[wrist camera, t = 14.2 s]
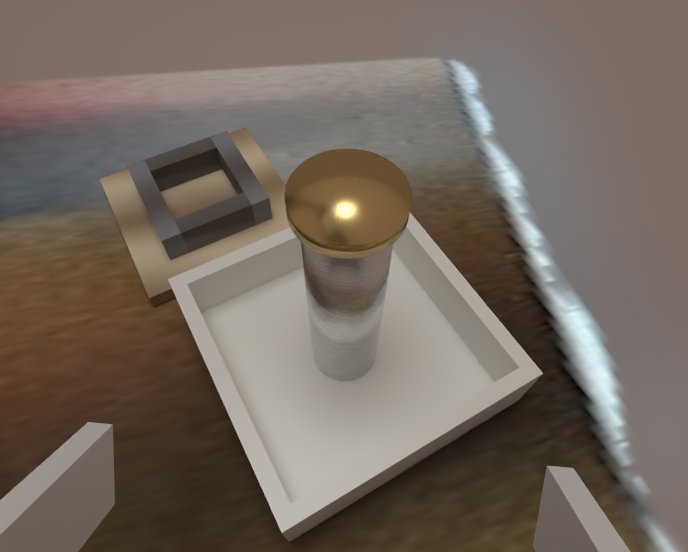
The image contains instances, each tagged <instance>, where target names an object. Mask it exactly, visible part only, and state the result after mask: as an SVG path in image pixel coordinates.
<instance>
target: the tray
mask: <svg viewBox="0 0 688 552" xmlns="http://www.w3.org/2000/svg"><path fill="white" fill-rule="evenodd" d="M168 281H169V283H170V285H171V287H172V290H173V292H174V294H175V296H176V299H177V301H178V303H179V305H180V307H181V310H182V312H183V314H184V316H185V319H186V321H187V323H188V325H189V328H190V330H191V332H192V334H193V336H194V339H195V341H196V343H197V345H198V348H199V350H200V352H201V354H202V356H203V359H204V361H205V363H206V365H207V368H208V370H209V372H210V374H211V377H212V379H213V381H214V383H215V385H216V388H217V390H218V392H219V394H220V397H221V399H222V401H223V403H224V405H225V408H226V410H227V412H228V414H229V417H230V419H231V421H232V423H233V426H234V428H235V430H236V432H237V434H238V437H239V439H240V441H241V443H242V446H243V448H244V450H245V452H246V454H247V457H248V459H249V461H250V463H251V466H252V468H253V470H254V472H255V474H256V477H257V479H258V481H259V483H260V486H261V488H262V490H263V492H264V495H265V497H266V499H267V501H268V503H269V506H270V508H271V510H272V512H273V515H274V517H275V519H276V521H277V523H278V526H279V528H280V530H281V532H282V534H283V535H284V536H285V538H286V539H287V540H288V542H291V541H293V540H294V539H296V538H297V537H299V536H301V535H302V534H304V533H306V532H307V531H309V530H310V529H312V528H314V527H315V526H317V525H318V524H320V523H322V522H323V521H325V520H327V519H328V518H330V517H331V516H333V515H335V514H336V513H338V512H339V511H341V510H343V509H344V508H346V507H348V506H349V505H351V504H352V503H354V502H356V501H357V500H359V499H360V498H362V497H364V496H365V495H367V494H368V493H370V492H372V491H373V490H375V489H377V488H378V487H380V486H381V485H383V484H385V483H386V482H388V481H389V480H391V479H393V478H394V477H396V476H398V475H399V474H401V473H402V472H404V471H406V470H407V469H409V468H410V467H412V466H414V465H415V464H417V463H419V462H420V461H422V460H423V459H425V458H427V457H428V456H430V455H431V454H433V453H435V452H436V451H438V450H440V449H441V448H443V447H444V446H446V445H448V444H449V443H451V442H452V441H454V440H456V439H457V438H459V437H461V436H462V435H464V434H465V433H467V432H469V431H470V430H472V429H473V428H475V427H477V426H478V425H480V424H481V423H483V422H485V421H486V420H488V419H490V418H491V417H493V416H494V415H496V414H498V413H499V412H501V411H502V410H504V409H506V408H507V407H509V406H511V405H512V404H514V403H515V402H517V401H518V400H519V399H520V398H521V397H522V396H523V395H524V394H525V393H526V391H527V390H528V389H529V388H530V387H531V386H532V385H533V384H534V383H535V382H536V380H537V379H538V378H539V377H540V376H541V375H542V374H543V373H542V372H541V371H540V369H539V368H538V367H537V366H536V364H535V363H534V362H533V361H532V360H531V358H530V357H529V356H528V355H527V354H526V352H525V351H524V350H523V349H522V347H521V346H520V345H519V344H518V343H517V341H516V340H515V339H514V338H513V337H512V335H511V334H510V333H509V332H508V331H507V329H506V328H505V327H504V326H503V324H502V323H501V322H500V321H499V320H498V318H497V317H496V316H495V315H494V314H493V312H492V311H491V310H490V309H489V308H488V306H487V305H486V304H485V303H484V301H483V300H482V299H481V298H480V297H479V295H478V294H477V293H476V292H475V291H474V289H473V288H472V287H471V286H470V285H469V283H468V282H467V281H466V280H465V278H464V277H463V276H462V275H461V274H460V272H459V271H458V270H457V269H456V268H455V266H454V265H453V264H452V263H451V262H450V260H449V259H448V258H447V257H446V255H445V254H444V253H443V252H442V251H441V249H440V248H439V247H438V246H437V245H436V243H435V242H434V241H433V240H432V239H431V237H430V236H429V235H428V234H427V232H426V231H425V230H424V229H423V228H422V226H421V225H420V224H419V223H418V222H417V220H416V219H415V218H414V217H413V215H412V214H411V213H409V219H408V223H407V226H406V228H405V230H404V232H403V234H402V235H401V236H400V237H399V239H398V240H397V241H396V242H395V243H393V249H392V255H391V262H390V268H389V275H388V281H387V288H386V294H385V301H384V307H383V314H382V320H381V327H380V333H379V340H378V346H377V353H376V358H375V362H374V364H373V366H372V367H371V369H370V370H369V371H368V372H367V373H366V374H365V375H363V376H362V377H360V378H358V379H355V380H352V381H337V380H334V379H331V378H329V377H327V376H325V375H324V374H323V373H322V372H321V371H320V370H319V369H318V368H317V366H316V364H315V362H314V359H313V354H312V345H311V335H310V326H309V316H308V306H307V297H306V287H305V278H304V268H303V258H302V249H301V241H300V240H299V239H298V238H297V237H296V236H295V234H294V233H293V231H292V230H291V228H287V229H285V230H283V231H280V232H278V233H276V234H273V235H271V236H269V237H266V238H264V239H261V240H259V241H257V242H254V243H252V244H250V245H247V246H245V247H243V248H240V249H238V250H235V251H233V252H231V253H228V254H226V255H224V256H221V257H219V258H217V259H214V260H212V261H209V262H207V263H205V264H202V265H200V266H198V267H195V268H193V269H191V270H188V271H186V272H184V273H181V274H179V275H176V276H174V277H172V278H169V279H168Z"/></svg>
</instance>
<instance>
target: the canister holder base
mask: <svg viewBox="0 0 688 552" xmlns="http://www.w3.org/2000/svg"><path fill="white" fill-rule="evenodd" d="M100 181H101V184H102V186H103V188H104V191H105V193H106V196H107V198H108V200H109V203H110V205H111V208H112V210H113V213H114V215H115V217H116V220H117V222H118V225H119V227H120V229H121V232H122V234H123V237H124V239H125V241H126V244H127V246H128V249H129V251H130V253H131V256H132V258H133V261H134V263H135V265H136V268H137V270H138V273H139V275H140V278H141V280H142V282H143V285H144V287H145V290H146V292H147V294H148V297H149V299H150V300H151V302H152V304H153V305H154V306H157V305H159V304H161V303H163V302H166V301H168V300H170V299H173V298H175V297H176V296H175V294H174V292H173V290H172V287H171V285H170V283H169V281H168V279H169V278H172V277H174V276H176V275H179V274H181V273H184V272H186V271H188V270H191V269H193V268H195V267H198V266H200V265H202V264H205V263H207V262H209V261H212V260H214V259H217V258H219V257H221V256H224V255H226V254H228V253H231V252H233V251H235V250H238V249H240V248H243V247H245V246H247V245H250V244H252V243H254V242H257V241H259V240H261V239H264V238H266V237H269V236H271V235H273V234H276V233H278V232H280V231H283V230H285V229H287V228H290V226H289V223H288V220H287V214H286V206H285V188H286V186H285V185H284V183H283V182H282V180H281V179H280V177H279V176H278V174H277V173H276V171H275V170H274V168H273V167H272V165H271V164H270V162H269V161H268V160H267V158H266V157H265V155H264V154H263V152H262V151H261V149H260V148H259V146H258V145H257V143H256V142H255V140H254V139H253V137H252V136H251V134H250V133H249V132H248V130H247V129H246V128H243V129H240V130H237V131H234V132H232V133H229V134H228V133H227V131H225V132H223V133H220V134H217V135H214V136H211V137H208V138H205V139H203V140H200V141H197V142H194V143H191V144H188V145H185V146H183V147H180V148H177V149H174V150H171V151H168V152H165V153H162V154H160V155H157V156H154V157H151V158H148V159H145V160H142V161H140V162H137V163H134V164H131V165H128V166H127V169H126V170H123V171H121V172H118V173H115V174H112V175H109V176H106V177H104V178H101V179H100Z"/></svg>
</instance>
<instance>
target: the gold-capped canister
mask: <svg viewBox="0 0 688 552" xmlns="http://www.w3.org/2000/svg"><path fill="white" fill-rule="evenodd" d="M411 202H412V192H411V187H410V184H409V182H408V180H407V178H406V176H405V175H404V173H403V172H402V171H401V170H400V169H399V168H398V167H397V166H396V165H395V164H394V163H392V162H391V161H389V160H388V159H386V158H384V157H382V156H380V155H378V154H375V153H372V152H369V151H365V150H358V149H336V150H330V151H326V152H323V153H320V154H317V155H315V156H313V157H311V158H309V159H307V160H306V161H304V162H303V163H302V164H300V165H299V166H298V167H297V168H296V169H295V170H294V172H293V173H292V174H291V176H290V177H289V179H288V181H287V184H286V188H285V206H286V214H287V220H288V223H289V226H290V228H291V230H292V231H293V233H294V234H295V236H296V237H297V238H298V239H299V240H300V241H301V249H302V258H303V268H304V278H305V287H306V297H307V306H308V316H309V326H310V335H311V345H312V354H313V359H314V362H315V364H316V366H317V368H318V369H319V370H320V371H321V372H322V373H323V374H324V375H325V376H327V377H329V378H331V379H334V380H337V381H352V380H355V379H358V378H360V377H362V376H363V375H365V374H366V373H367V372H368V371H369V370H370V369H371V367H372V366H373V364H374V362H375V358H376V353H377V346H378V340H379V333H380V327H381V320H382V314H383V307H384V301H385V294H386V288H387V281H388V275H389V268H390V262H391V255H392V249H393V243H395V242H396V241H397V240H398V239H399V237H400V236H401V235H402V234H403V232H404V230H405V228H406V226H407V223H408V219H409V213H410V208H411Z"/></svg>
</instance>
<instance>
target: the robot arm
mask: <svg viewBox="0 0 688 552" xmlns="http://www.w3.org/2000/svg"><path fill="white" fill-rule="evenodd" d="M114 504H115V494H114V455H113V425H112V424H102V423H91V422H88V423H87V424H86V425H85V426H83V427H82V428H81V429H80V430H79V431H78V432H77V433H76V434H74V435H73V436H72V437H71V438H70V439H69V440H68V441H67V442H65V443H64V444H63V445H62V446H61V447H60V448H59V449H58V450H56V451H55V452H54V453H53V454H52V455H51V456H50V457H48V458H47V459H46V460H45V461H44V462H43V463H42V464H41V465H39V466H38V467H37V468H36V469H35V470H34V471H33V472H32V473H30V474H29V475H28V476H27V477H26V478H25V479H24V480H23V481H21V482H20V483H19V484H18V485H17V486H16V487H15V488H14V489H12V490H11V491H10V492H9V493H8V494H7V495H6V496H5V497H3V498H2V499H1V500H0V552H78V551H79V550H80V549H81V547H82V546H83V545H84V543H85V542H86V541H87V539H88V538H89V537H90V536H91V534H92V533H93V532H94V530H95V529H96V528H97V526H98V525H99V524H100V523H101V521H102V520H103V519H104V517H105V516H106V515H107V513H108V512H109V511H110V510H111V508H112V507H113V506H114ZM533 547H534V550H535V552H630V551H629V549H628V548H627V546H626V545H625V543H624V542H623V540H622V539H621V537H620V536H619V535H618V533H617V532H616V530H615V529H614V527H613V526H612V524H611V523H610V521H609V520H608V518H607V517H606V515H605V514H604V513H603V511H602V510H601V508H600V507H599V505H598V504H597V502H596V501H595V499H594V498H593V496H592V495H591V493H590V492H589V491H588V489H587V488H586V486H585V485H584V483H583V482H582V480H581V479H580V477H579V476H578V474H577V473H576V472H575V470H574V469H573V468H566V467H555V466H547V469H546V475H545V480H544V486H543V492H542V497H541V503H540V509H539V515H538V520H537V526H536V532H535V537H534V543H533Z"/></svg>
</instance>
